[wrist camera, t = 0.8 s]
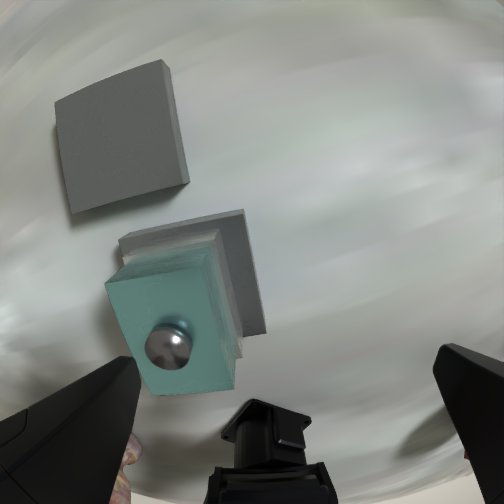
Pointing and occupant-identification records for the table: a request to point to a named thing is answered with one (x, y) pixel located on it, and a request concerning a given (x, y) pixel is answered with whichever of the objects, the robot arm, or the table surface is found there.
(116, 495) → the mortar and pestle
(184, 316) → the housing
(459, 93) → the table surface
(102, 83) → the stand
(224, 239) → the stand
